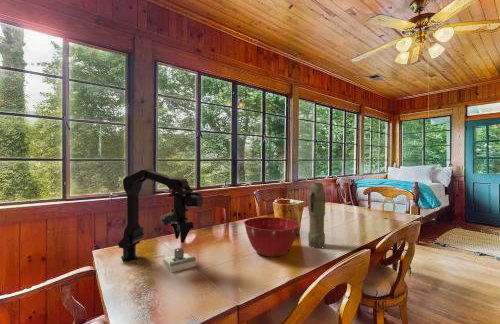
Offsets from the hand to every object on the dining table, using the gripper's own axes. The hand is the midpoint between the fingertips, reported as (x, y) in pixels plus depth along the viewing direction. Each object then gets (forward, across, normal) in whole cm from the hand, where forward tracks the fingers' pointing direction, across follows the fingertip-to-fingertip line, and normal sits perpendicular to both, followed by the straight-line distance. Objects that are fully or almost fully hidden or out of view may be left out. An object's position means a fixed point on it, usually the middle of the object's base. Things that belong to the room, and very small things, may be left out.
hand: (179, 240), depth 116 cm
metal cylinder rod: (+11, 0, 0) cm, 11 cm away
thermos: (+11, +18, +72) cm, 75 cm away
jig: (+11, 0, 0) cm, 11 cm away
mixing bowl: (+11, +11, +45) cm, 48 cm away
